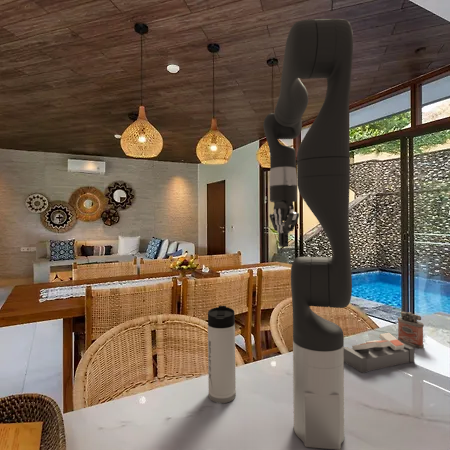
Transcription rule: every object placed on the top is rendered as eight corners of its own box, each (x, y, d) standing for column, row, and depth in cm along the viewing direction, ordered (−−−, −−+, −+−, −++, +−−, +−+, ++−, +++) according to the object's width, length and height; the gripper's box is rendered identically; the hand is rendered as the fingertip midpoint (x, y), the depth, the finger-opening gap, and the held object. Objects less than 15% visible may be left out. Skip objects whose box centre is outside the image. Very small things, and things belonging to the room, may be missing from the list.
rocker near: (362, 348, 88) (361, 343, 89) (376, 346, 84) (375, 341, 84) (353, 350, 87) (351, 345, 88) (366, 348, 82) (365, 343, 83)
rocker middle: (375, 344, 90) (374, 339, 91) (391, 345, 85) (389, 340, 86) (366, 346, 89) (365, 341, 89) (381, 347, 84) (380, 342, 84)
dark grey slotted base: (392, 351, 94) (391, 338, 94) (414, 361, 87) (414, 347, 87) (342, 360, 88) (342, 346, 88) (362, 372, 81) (361, 357, 81)
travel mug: (236, 388, 74) (235, 305, 74) (234, 404, 68) (233, 313, 67) (210, 387, 75) (209, 305, 75) (206, 403, 68) (205, 313, 68)
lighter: (395, 340, 102) (395, 310, 102) (402, 338, 104) (401, 309, 103) (419, 349, 95) (419, 317, 95) (426, 347, 96) (426, 315, 96)
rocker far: (387, 336, 92) (389, 332, 92) (403, 348, 87) (404, 344, 87) (379, 337, 91) (380, 333, 91) (394, 350, 86) (395, 346, 86)
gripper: (260, 187, 91) (261, 245, 92) (283, 181, 79) (283, 249, 79) (283, 187, 94) (283, 244, 94) (308, 182, 81) (308, 248, 82)
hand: (283, 246), depth 87 cm, fingers closed
